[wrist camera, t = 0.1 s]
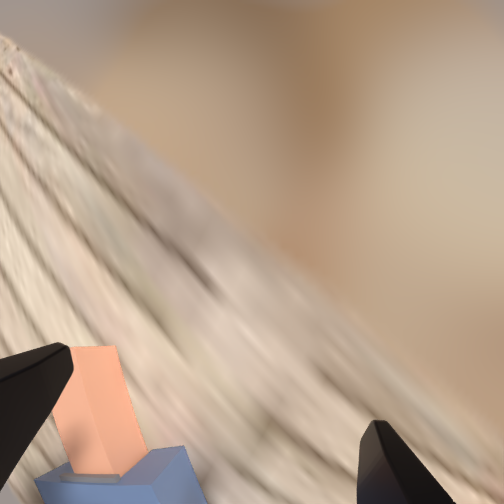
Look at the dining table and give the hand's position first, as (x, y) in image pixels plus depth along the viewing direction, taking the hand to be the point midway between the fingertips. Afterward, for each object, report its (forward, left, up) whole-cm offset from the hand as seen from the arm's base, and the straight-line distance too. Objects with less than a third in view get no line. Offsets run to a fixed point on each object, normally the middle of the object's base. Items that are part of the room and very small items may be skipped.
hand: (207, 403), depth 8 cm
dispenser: (-9, +12, -15) cm, 21 cm away
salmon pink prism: (-3, +12, -15) cm, 19 cm away
